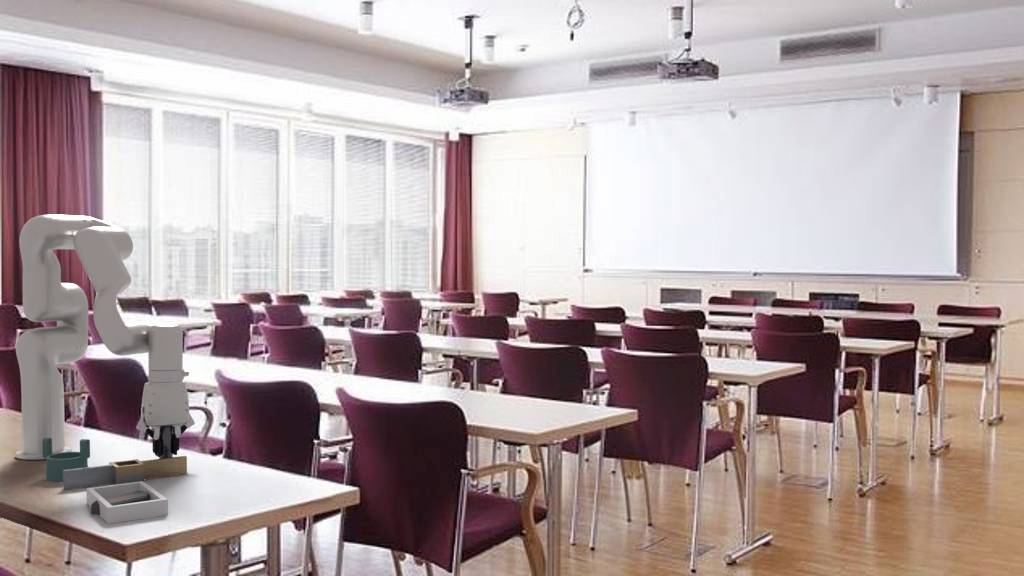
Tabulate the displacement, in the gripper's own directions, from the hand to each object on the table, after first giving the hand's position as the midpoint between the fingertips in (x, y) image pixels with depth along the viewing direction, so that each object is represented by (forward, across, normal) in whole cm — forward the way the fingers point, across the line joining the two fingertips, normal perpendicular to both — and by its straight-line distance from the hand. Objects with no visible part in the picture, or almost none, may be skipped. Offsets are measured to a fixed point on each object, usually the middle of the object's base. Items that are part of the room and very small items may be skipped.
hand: (165, 454), depth 232 cm
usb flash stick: (+3, +17, +32) cm, 37 cm away
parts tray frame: (+3, +17, +32) cm, 37 cm away
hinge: (+3, +11, +8) cm, 14 cm away
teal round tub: (+4, +21, -3) cm, 21 cm away
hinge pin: (+3, 0, 0) cm, 3 cm away
